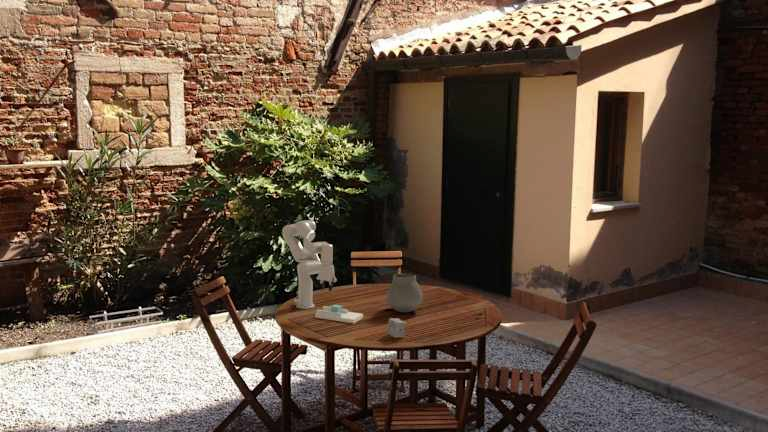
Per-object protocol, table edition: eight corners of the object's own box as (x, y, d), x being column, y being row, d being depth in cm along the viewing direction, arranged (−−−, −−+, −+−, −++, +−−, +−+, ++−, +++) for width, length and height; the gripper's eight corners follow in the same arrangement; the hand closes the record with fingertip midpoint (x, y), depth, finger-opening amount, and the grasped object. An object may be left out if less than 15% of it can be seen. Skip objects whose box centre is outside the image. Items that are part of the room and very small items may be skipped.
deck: (315, 317, 461) (315, 310, 460) (325, 311, 473) (325, 305, 473) (353, 323, 450) (353, 316, 449) (363, 317, 462) (363, 310, 462)
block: (331, 313, 461) (331, 306, 460) (334, 311, 465) (334, 304, 464) (338, 314, 459) (338, 307, 458) (341, 312, 463) (341, 305, 462)
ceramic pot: (427, 308, 486) (428, 273, 482) (413, 318, 464) (414, 281, 460) (394, 304, 496) (395, 269, 492) (380, 312, 474) (380, 276, 470)
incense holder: (406, 337, 424) (407, 321, 423) (394, 339, 420) (395, 322, 419) (398, 333, 433) (398, 316, 431) (386, 334, 429) (386, 318, 427)
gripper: (312, 262, 460) (312, 289, 462) (335, 265, 453) (335, 293, 456) (318, 260, 466) (317, 287, 469) (341, 263, 460) (340, 290, 463)
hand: (326, 289), depth 462 cm, fingers open, 4 cm apart
